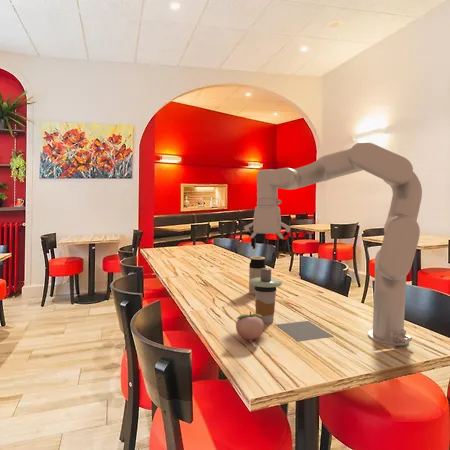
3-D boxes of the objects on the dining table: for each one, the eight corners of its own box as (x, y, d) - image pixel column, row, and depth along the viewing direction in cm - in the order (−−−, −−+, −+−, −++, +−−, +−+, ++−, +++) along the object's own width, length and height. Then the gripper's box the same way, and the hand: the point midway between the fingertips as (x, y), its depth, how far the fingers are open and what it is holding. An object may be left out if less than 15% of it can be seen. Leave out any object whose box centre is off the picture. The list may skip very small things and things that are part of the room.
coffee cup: (280, 322, 134) (281, 283, 133) (267, 327, 128) (267, 287, 127) (262, 317, 140) (263, 279, 139) (249, 322, 134) (249, 283, 133)
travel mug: (257, 296, 170) (257, 259, 168) (245, 292, 176) (246, 257, 174) (268, 293, 175) (269, 257, 174) (256, 290, 181) (257, 255, 180)
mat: (334, 338, 119) (334, 336, 119) (297, 343, 115) (297, 341, 115) (308, 322, 134) (308, 320, 134) (275, 326, 130) (275, 324, 130)
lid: (287, 286, 129) (287, 271, 129) (257, 288, 125) (257, 273, 125) (272, 279, 140) (273, 265, 140) (244, 280, 137) (245, 266, 136)
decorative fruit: (243, 348, 110) (243, 317, 109) (232, 339, 117) (232, 309, 117) (269, 344, 114) (269, 314, 113) (257, 335, 121) (257, 306, 120)
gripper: (291, 203, 133) (290, 248, 134) (245, 203, 136) (245, 247, 137) (290, 203, 125) (290, 250, 126) (242, 203, 129) (242, 249, 130)
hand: (266, 248), depth 132 cm, fingers open, 9 cm apart
